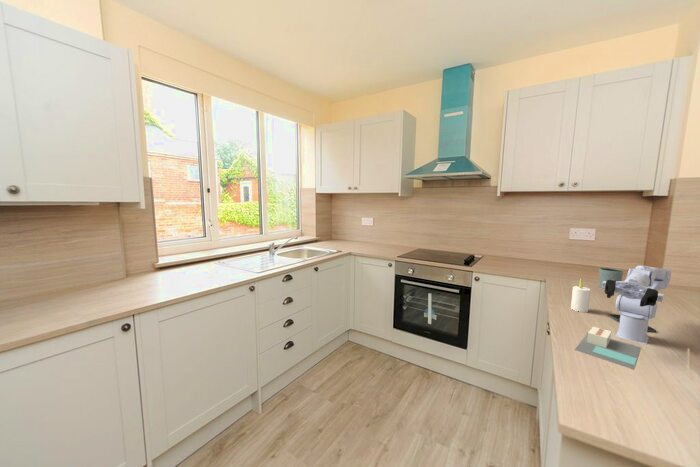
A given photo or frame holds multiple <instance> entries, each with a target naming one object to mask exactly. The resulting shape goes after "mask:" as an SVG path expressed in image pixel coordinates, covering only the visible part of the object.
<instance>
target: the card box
mask: <svg viewBox="0 0 700 467" xmlns="http://www.w3.org/2000/svg"><path fill="white" fill-rule="evenodd" d="M587 333H588V338H587V342H588V343H592V344H595V345H598V346H601V347H605V348H606V347H607V345H608V344H609V342H610V339H612V338H611V337H612V331H611V330H608V329H604V328H600V327H597V326H592V327H591V329H590V330H589V331H588V332H587Z"/></svg>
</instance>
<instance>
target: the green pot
mask: <svg viewBox="0 0 700 467" xmlns="http://www.w3.org/2000/svg"><path fill="white" fill-rule="evenodd" d="M598 275H599V279H598V280H599V289H600V288H602V282H603V281H607V280H613V281H623V276H624V270H622V269H620V268H613V267H612V268H611V267H600V268H598ZM602 289H605V288H602ZM602 289H601V290H602Z"/></svg>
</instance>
